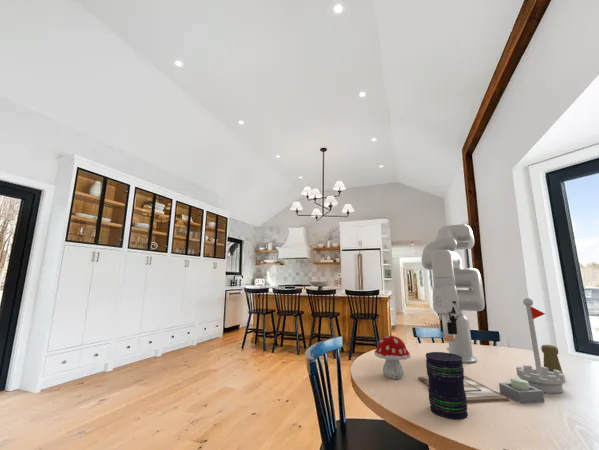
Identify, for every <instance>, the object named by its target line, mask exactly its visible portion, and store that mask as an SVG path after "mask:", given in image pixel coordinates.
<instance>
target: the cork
mask: <svg viewBox="0 0 599 450" xmlns="http://www.w3.org/2000/svg"><path fill="white" fill-rule="evenodd" d="M540 349H541V353H543V367H547V368H548V371H550V372H553V370H558V371H561V372H562V374H564V373H563V369H562V366H561V363H560V359H559V349H558V347H557V346H556V345H552V344H542V345H541V347H540Z"/></svg>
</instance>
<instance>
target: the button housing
mask: <svg viewBox="0 0 599 450" xmlns="http://www.w3.org/2000/svg"><path fill="white" fill-rule="evenodd" d="M498 386H499V393H500V394H502V395H504V396H506V397H508V398H509V399H512V400H514V401H515V402H517V401H518V402H517V403H519V402H520V404H528V403H529V402H531V403H543V402H544V403H545V396H544V392H543V391H542V390H539V389H537V388H534V387H532V386H530V385H529V390H522V391H519V390H517V389H515V388H512V386H511V382H499V383H498ZM529 404H530V403H529Z"/></svg>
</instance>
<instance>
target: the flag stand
mask: <svg viewBox="0 0 599 450" xmlns="http://www.w3.org/2000/svg"><path fill="white" fill-rule="evenodd" d="M522 302H523V305H525V307H526V308H525V309H526V315H527V320H528V321H527V322H528V326H529V332H530V339H531V346H532V352H533V357H534V364H535V368H533V366H532V365H529V364H527V365H525V364H524V365H522V366H519V365H518V366H516V367H515V370H516V375H517V377H518V378H519V379H522V380H526V381H528V383H529V385H530V386H532V387H534V388H537V389H539V390H542V391H543V393H548V394H561V393H562V392H563V391H564V389H563V385H564V384H565V383H566V378H565V373H563V374H562V372H563V371H562V372H561V371H558V370H553V372H550V371H548V368H547V367H544V366H542V364H541V357H540V352H539V345H538V344H539V343H538V339H537V334H536V333H537V332H536V326H535V322H534V321H535V319H536V318H539V317H542V316H544V315H545V314H546V313H544V312H543V311H541V310H539V309H537V308H535V307H533V305H534V301H533V299H531V298H530V297H526V298H524V299H523V300H522Z"/></svg>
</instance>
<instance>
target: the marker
mask: <svg viewBox="0 0 599 450" xmlns="http://www.w3.org/2000/svg"><path fill="white" fill-rule="evenodd" d="M449 314H453V313H452V312H449ZM451 316H453V315H450V317H451ZM447 323H449V322H448V318H447V314H443V313H442V324H443V332H442V333H443V341H446V342H449V341H456V340H455V334H448V327H447Z"/></svg>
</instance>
